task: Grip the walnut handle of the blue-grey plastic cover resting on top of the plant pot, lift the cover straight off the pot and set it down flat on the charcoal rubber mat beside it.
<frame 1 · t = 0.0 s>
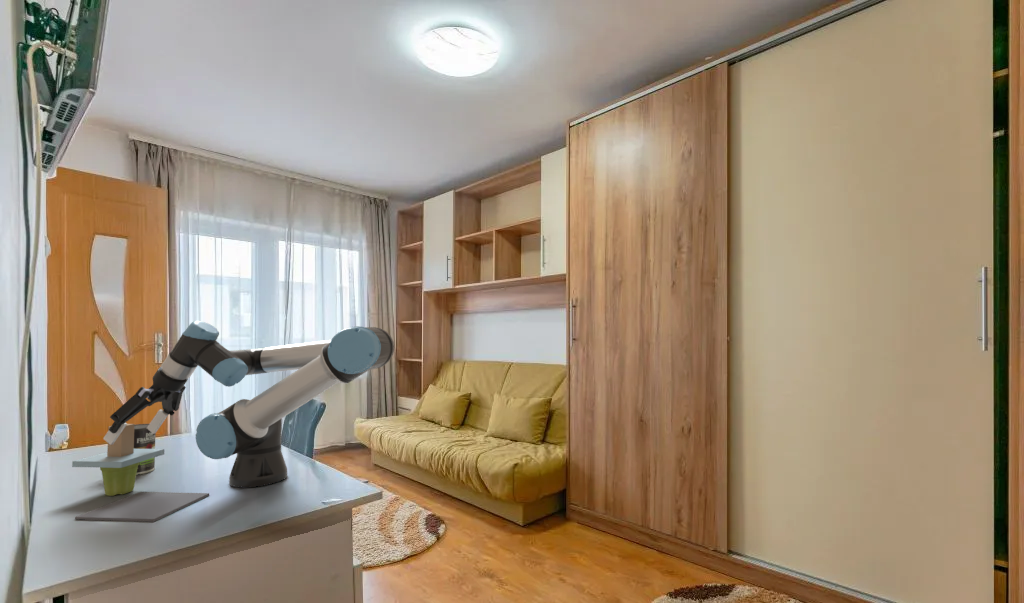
hand: (130, 435, 135), 15 cm above the table, tool tilted 35°, fingers open, 13 cm apart
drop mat: (146, 506, 124), on the table
cover lid: (120, 460, 136), point 9 cm above the table, touching plant pot
plant pot: (119, 493, 135), on the table, touching cover lid
coffee can: (134, 472, 155), on the table
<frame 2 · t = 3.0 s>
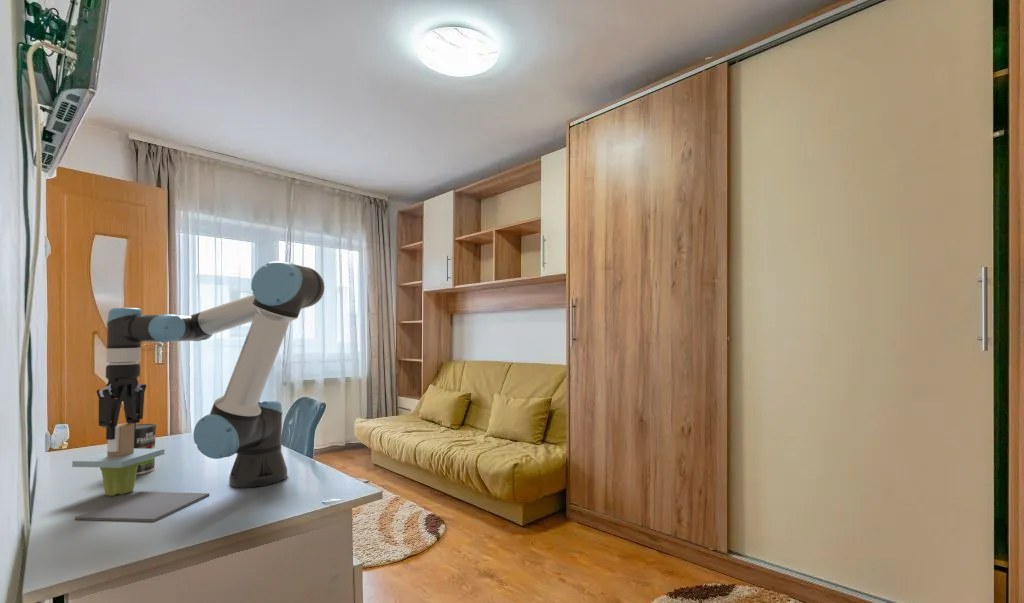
hand: (120, 449, 136), 12 cm above the table, tool pointing down, fingers closed on cover lid, 4 cm apart
cover lid: (120, 460, 136), point 9 cm above the table, touching gripper, plant pot
everything else where it was.
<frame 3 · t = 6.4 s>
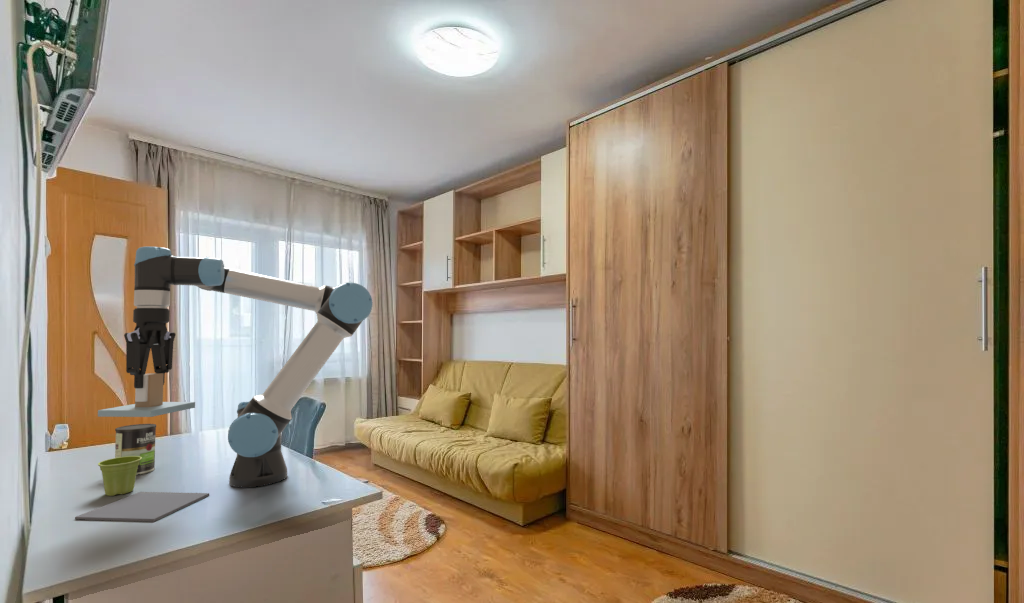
hand: (149, 399, 125), 26 cm above the table, tool pointing down, fingers closed on cover lid, 4 cm apart
cover lid: (148, 411, 125), point 23 cm above the table, touching gripper
plant pot: (119, 493, 135), on the table
everything else where it was.
when the fingers open (5 cm above the table, at t = 9.8 s): cover lid stays where it is, resting on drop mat.
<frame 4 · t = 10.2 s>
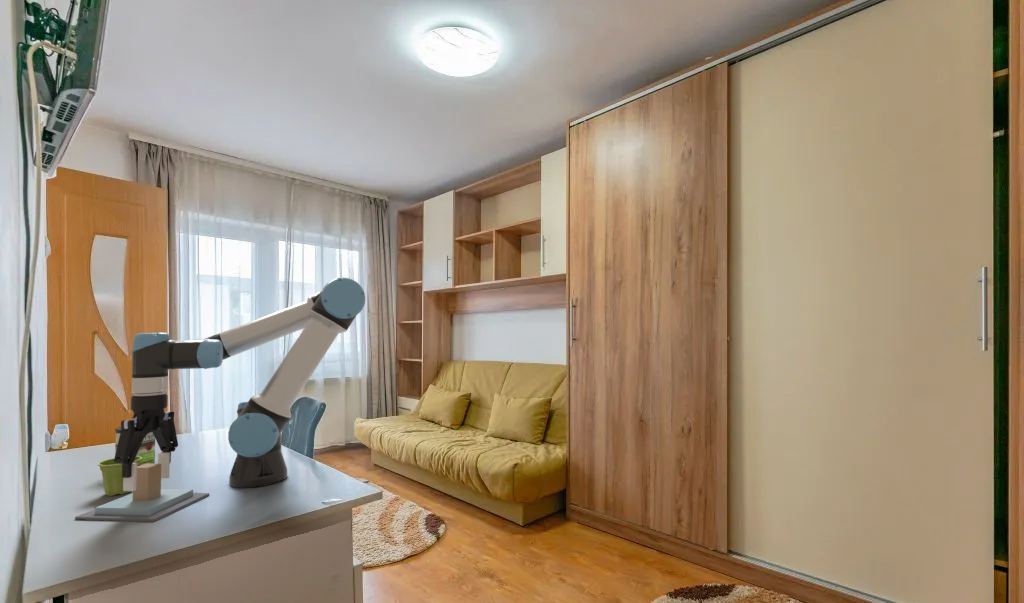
hand: (147, 483, 124), 6 cm above the table, tool pointing down, fingers open, 9 cm apart
cover lid: (146, 504, 124), point 1 cm above the table, touching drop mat
everything else where it was.
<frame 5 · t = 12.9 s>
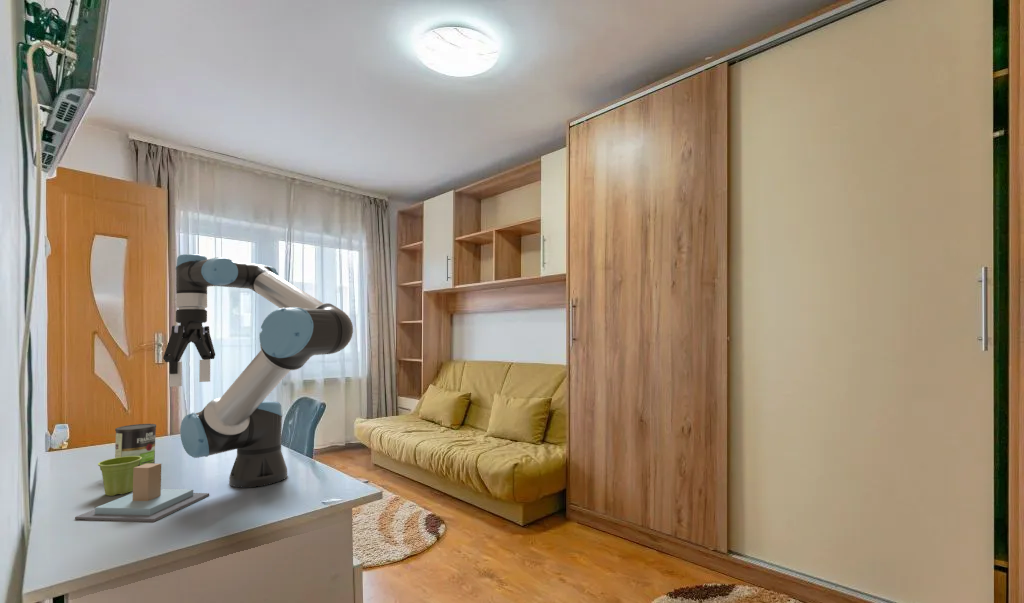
hand: (190, 384, 140), 29 cm above the table, tool pointing down, fingers open, 13 cm apart
nothing on the table moved.
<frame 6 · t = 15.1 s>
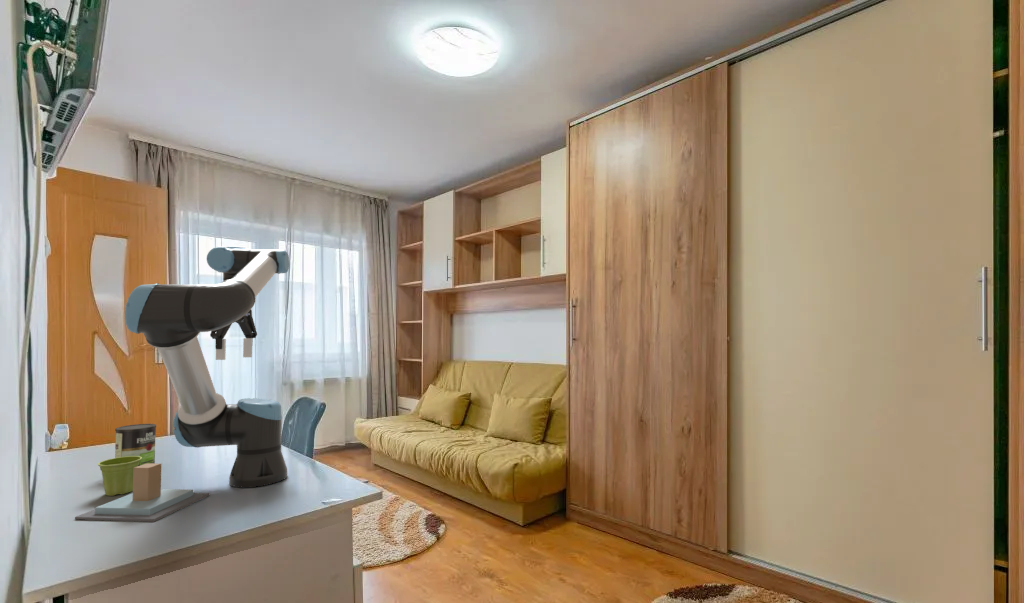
hand: (234, 358, 163), 35 cm above the table, tool pointing down, fingers open, 13 cm apart
nothing on the table moved.
at the end: cover lid inside the target area (0.0 cm from its centre), point 0.6 cm above the table; cover lid touching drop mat; plant pot moved 0.3 cm from its start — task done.
